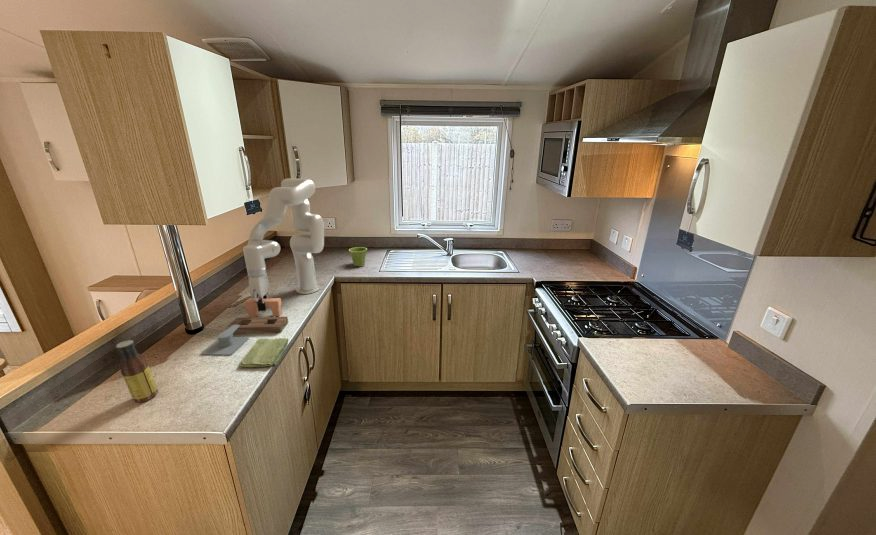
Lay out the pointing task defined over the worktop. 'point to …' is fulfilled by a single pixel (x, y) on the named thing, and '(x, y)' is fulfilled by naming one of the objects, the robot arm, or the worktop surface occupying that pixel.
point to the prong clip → (269, 302)
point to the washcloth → (264, 353)
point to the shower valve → (225, 343)
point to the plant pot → (358, 255)
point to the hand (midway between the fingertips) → (264, 308)
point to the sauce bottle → (136, 372)
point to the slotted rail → (259, 325)
